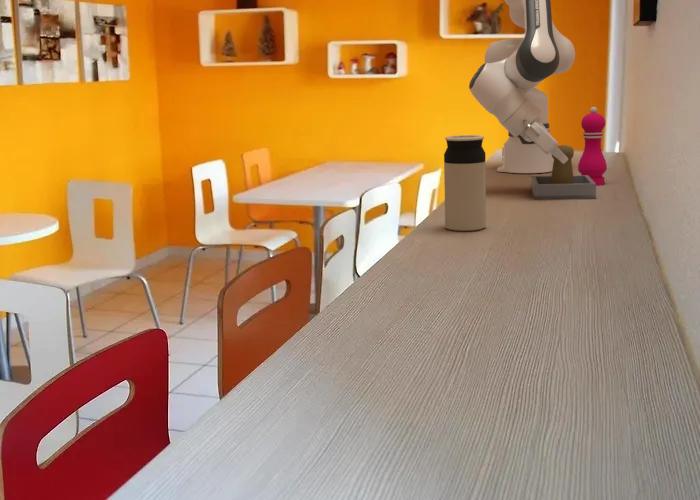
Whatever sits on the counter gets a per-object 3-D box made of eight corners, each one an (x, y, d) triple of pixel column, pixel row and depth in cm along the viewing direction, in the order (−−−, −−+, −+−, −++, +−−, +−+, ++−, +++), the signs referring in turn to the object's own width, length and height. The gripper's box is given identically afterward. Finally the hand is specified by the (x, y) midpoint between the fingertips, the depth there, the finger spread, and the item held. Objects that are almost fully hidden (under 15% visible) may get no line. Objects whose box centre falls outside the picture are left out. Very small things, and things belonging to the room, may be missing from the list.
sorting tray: (531, 189, 207) (531, 176, 206) (587, 189, 205) (588, 175, 204) (534, 199, 192) (534, 184, 191) (595, 198, 189) (596, 183, 188)
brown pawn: (575, 192, 194) (576, 146, 192) (549, 192, 196) (550, 147, 193) (574, 188, 200) (575, 144, 198) (548, 189, 201) (549, 144, 199)
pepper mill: (603, 181, 216) (605, 105, 212) (608, 185, 209) (611, 106, 205) (575, 182, 217) (576, 106, 213) (580, 186, 210) (581, 107, 206)
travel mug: (488, 231, 157) (488, 137, 153) (447, 232, 157) (445, 138, 153) (482, 223, 164) (482, 134, 160) (443, 225, 165) (441, 135, 161)
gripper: (535, 112, 185) (578, 154, 185) (530, 107, 205) (570, 145, 205) (515, 132, 187) (558, 173, 187) (512, 126, 206) (551, 163, 207)
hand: (564, 159), depth 196 cm, fingers open, 8 cm apart
